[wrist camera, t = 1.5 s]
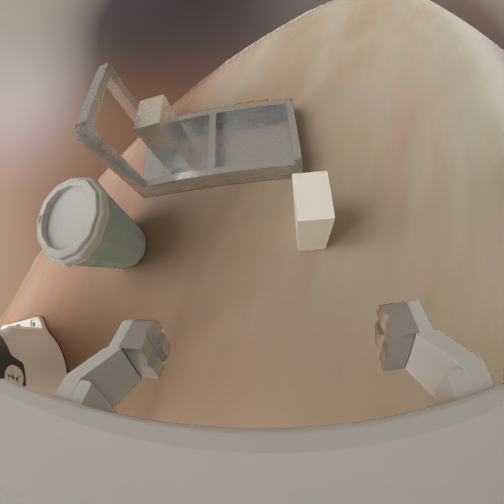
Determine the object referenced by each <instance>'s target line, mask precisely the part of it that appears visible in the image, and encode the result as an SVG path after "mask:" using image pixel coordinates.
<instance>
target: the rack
mask: <svg viewBox="0 0 504 504" xmlns="http://www.w3.org/2000/svg"><path fill="white" fill-rule="evenodd" d="M106 88H108V89H109V91H110V92H111V93H112V94H113V96H114V97H115V98H116V100H117V101H118V102H119V103H120V105H121V106H122V107H123V108H124V110H125V111H126V112H127V114H128V115H129V116H130V118H131V119H132V120H133V121H134V123H135V125H134V130H135V132H136V133H137V134H138V135H139V137H140V138H141V139H142V140H143V142H144V143H145V144H146V145H147V151H146V158H145V165H144V173H143V177H142V176H141V175H140V174H139V173H138V172H137V171H136V170H135V169H134V168H133V167H132V166H131V165H130V164H129V163H128V162H127V161H126V160H125V159H124V158H123V157H122V156H121V155H120V154H119V153H118V152H117V151H116V150H115V149H114V148H113V147H112V146H111V145H110V144H109V143H108V142H107V141H106V140H105V139H104V138H103V137H102V136H101V135H100V134H99V133H98V132H97V131H96V130H95V129H94V128H93V127H94V124H95V120H96V117H97V114H98V111H99V107H100V104H101V102H102V99H103V96H104V93H105V91H106ZM73 135H74V136H75V137H76V138H77V139H78V140H79V141H80V142H81V143H83V144H84V145H85V146H86V147H87V148H88V149H89V150H90V151H92V153H94V154H95V155H96V156H97V157H98V158H99V159H100V160H101V161H102V162H104V163H105V164H106V165H107V166H108V167H109V168H110V169H111V170H112V171H114V172H115V173H116V174H117V175H118V176H119V177H120V178H121V179H123V180H124V181H125V182H126V183H127V184H128V185H129V186H131V187H132V188H133V189H134V190H135V191H136V192H137V193H139V194H140V195H141V196H142V197H143V198H147V197H153V196H158V195H164V194H170V193H176V192H182V191H189V190H195V189H202V188H209V187H216V186H224V185H231V184H239V183H248V182H256V181H265V180H275V179H285V178H292V174H296V173H303V162H302V155H301V149H300V143H299V137H298V131H297V125H296V119H295V114H294V108H293V103H292V98H291V99H280V100H271V101H268V100H259V101H252V102H244V103H238V104H236V105H234V106H227V107H221V108H216V109H210V110H205V111H200V112H195V113H190V114H186V115H181V116H176V114H175V113H174V111H173V109H172V108H171V106H170V104H169V103H168V101H167V99H166V97H165V96H164V95H160V96H157V97H153V98H149V99H146V100H143V101H140V104H139V105H138V104H137V102H136V101H135V100H134V98H133V97H132V95H131V94H130V93H129V91H128V90H127V88H126V87H125V85H124V84H123V83H122V81H121V80H120V78H119V77H118V76H117V74H116V73H115V71H114V70H113V69H112V67H111V66H110V64H109V63H107V64H104V65H102V66H100V67H99V69H98V71H97V73H96V75H95V78H94V80H93V83H92V85H91V87H90V90H89V92H88V95H87V97H86V100H85V102H84V105H83V108H82V110H81V113H80V116H79V119H78V122H77V125H76V128H75V131H74V134H73Z"/></svg>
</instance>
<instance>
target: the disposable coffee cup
mask: <svg viewBox="0 0 504 504" xmlns="http://www.w3.org/2000/svg"><path fill="white" fill-rule="evenodd" d="M37 240H38V242H39V243H40V245H41V247H42V249H43V251H44V252H45V254H47V255H48V257H49V259H50V260H52V261H54V262H55V263H57V264H60V265H63V266H65V267H68V268H69V267H72V266H74V265H75V266H90V267H105V268H122V269H125V268H128V267H130V266H133V265H135V264H137V263H138V262H139V260H140V259H141V258H142V257H143V255H144V252H145V248H146V240H145V235H144V232H143V231H142V230H141V229H140V228H139V227H138V225H137V224H136V223H135V222H134V221H133V220H132V219H131V218H130V217H129V216H128V215H127V214H126V213H125V212H124V211H123V210H122V209H121V208H120V207H119V206H118V205H117V204H116V202H115V201H114V200H113V199H112V198H111V197H110V196H109V195H108V193H107V192H106V191H105V189H104V188H103V187H102V186H101V184H100V183H99V182H98V181H97V180H94V179H92V178H82V177H77V178H72V179H69V180H67V181H65V182H63V183H61V184H59V185H57V186H56V187H55V188H54V190H53V191H52V192H51V193H50V194H49V195H48V197H47V198H46V199H45V200H44V202H43V205H42V208H41V211H40V214H39V217H38V223H37Z"/></svg>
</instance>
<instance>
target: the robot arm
mask: <svg viewBox="0 0 504 504" xmlns="http://www.w3.org/2000/svg"><path fill="white" fill-rule="evenodd" d="M377 315H378V318H379V320H378V321H377V322H376V324H375V339H376V344H377V348H379V349H380V350H381V353H380V360H381V364H382V368H383V371H387V370H394V369H401V368H405V369H406V370H407V371H408V372H409V373H410V374H411V375H412V376H413V377H414V378H415V379H416V380H417V381H418V382H419V383H420V384H421V385H422V386H423V387H424V388H425V389H426V390H427V391H428V392H429V393H430V394H431V395H432V396H433V397H434V398H433V400H432V402H431V404H430V405H429V407H428V408H426V409H422V410H418V411H413V412H409V413H404V414H399V415H394V416H389V417H384V418H378V419H372V420H366V421H359V422H352V423H344V424H335V425H325V426H313V427H296V428H225V427H209V426H197V425H187V424H178V423H170V422H162V421H156V420H149V419H143V418H137V417H132V416H127V415H122V414H119V413H118V412H117V411H116V410H115V409H114V408H113V407H114V406H115V405H116V404H117V403H118V402H119V401H120V400H121V399H122V398H123V397H124V396H125V395H126V394H127V393H128V392H129V391H130V390H131V389H132V388H133V387H134V386H135V385H136V384H137V383H138V382H139V381H140V380H141V378H145V379H160V377H161V374H162V371H163V369H164V365H163V361H164V360H166V359H167V358H168V355H169V352H170V344H169V340H168V338H167V335H165V334H164V333H163V332H161V330H162V328H163V327H162V325H161V324H160V322H159V321H157V320H124V321H123V322H122V323H121V325H120V327H119V329H118V330H117V332H116V334H115V336H114V337H113V339H112V341H111V343H110V344H109V346H108V347H105V348H103V349H102V350H100V351H99V352H98V353H96V354H95V355H93V356H92V357H90V358H89V359H88V360H86V361H85V362H83V363H82V364H81V365H79V366H78V367H76V368H75V369H74V370H72V371H71V372H69V373H68V374H67V371H66V365H65V361H64V358H63V355H62V352H61V350H60V348H59V346H58V344H57V342H56V341H55V339H54V338H53V337H52V336H51V335H50V333H49V332H48V330H47V327H46V325H45V322H44V320H43V318H42V317H34V318H30V319H26V320H23V321H19V322H15V323H11V324H8V325H4V326H2V328H1V329H0V504H504V383H502V384H500V385H498V386H495V385H494V382H493V380H492V378H491V376H490V373H489V371H488V369H487V367H486V365H485V362H484V360H483V359H481V358H480V357H478V356H477V355H475V354H474V353H472V352H471V351H469V350H468V349H466V348H465V347H463V346H462V345H460V344H459V343H457V342H456V341H454V340H453V339H451V338H450V337H448V336H447V335H445V334H444V333H442V332H441V331H439V330H438V329H436V330H434V329H433V327H432V325H431V323H430V321H429V319H428V317H427V315H426V313H425V311H424V309H423V307H422V305H421V303H420V301H419V300H418V299H414V300H409V301H405V302H404V301H403V302H397V303H390V304H383V305H379V306H378V310H377Z"/></svg>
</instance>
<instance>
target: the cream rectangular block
mask: <svg viewBox="0 0 504 504" xmlns="http://www.w3.org/2000/svg"><path fill="white" fill-rule="evenodd" d="M292 182H293V197H294V215H295V224H296V234H297V245H298V251H308V250H320V249H326V246H327V242H328V239H329V236H330V233H331V230H332V227H333V223H334V220H335V214H334V208H333V201H332V195H331V189H330V184H329V178H328V172H327V171H320V172H307V173H296V174H292Z"/></svg>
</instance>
